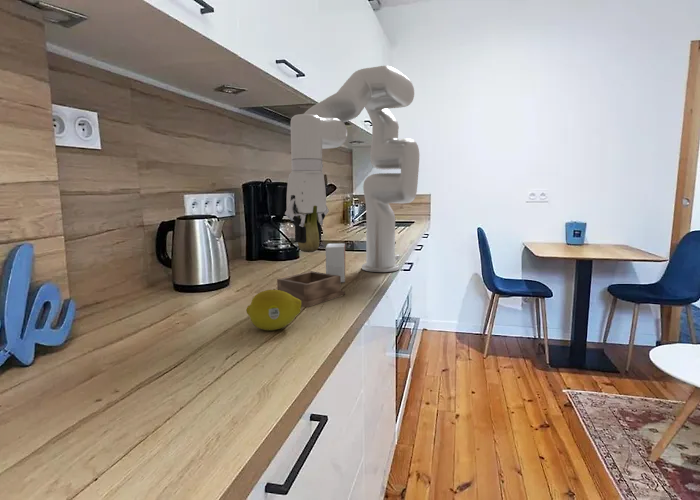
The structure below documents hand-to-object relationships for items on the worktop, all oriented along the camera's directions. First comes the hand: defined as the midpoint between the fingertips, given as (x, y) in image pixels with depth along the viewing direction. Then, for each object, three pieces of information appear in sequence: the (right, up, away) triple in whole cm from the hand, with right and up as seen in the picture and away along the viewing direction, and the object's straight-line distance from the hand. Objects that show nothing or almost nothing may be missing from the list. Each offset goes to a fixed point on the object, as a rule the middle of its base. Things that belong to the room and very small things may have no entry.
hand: (308, 240), depth 107 cm
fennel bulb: (0, -3, 0) cm, 3 cm away
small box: (+6, -12, +21) cm, 25 cm away
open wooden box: (0, -14, +2) cm, 15 cm away
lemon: (-5, -18, -21) cm, 29 cm away
